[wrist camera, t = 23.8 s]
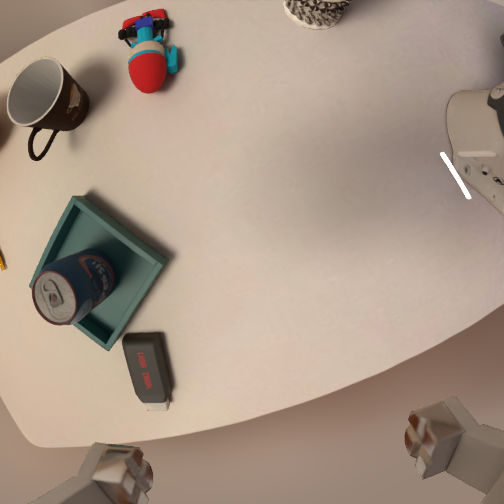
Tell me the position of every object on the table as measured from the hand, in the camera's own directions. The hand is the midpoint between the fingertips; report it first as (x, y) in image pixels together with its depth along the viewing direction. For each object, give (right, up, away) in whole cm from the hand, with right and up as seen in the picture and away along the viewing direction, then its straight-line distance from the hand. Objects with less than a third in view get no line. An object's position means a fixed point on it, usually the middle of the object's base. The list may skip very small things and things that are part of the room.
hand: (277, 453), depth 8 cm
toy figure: (-14, +32, +27) cm, 45 cm away
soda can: (-21, +3, +31) cm, 38 cm away
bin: (-21, +3, +32) cm, 38 cm away
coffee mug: (-27, +24, +28) cm, 46 cm away
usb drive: (-15, -11, +34) cm, 39 cm away
